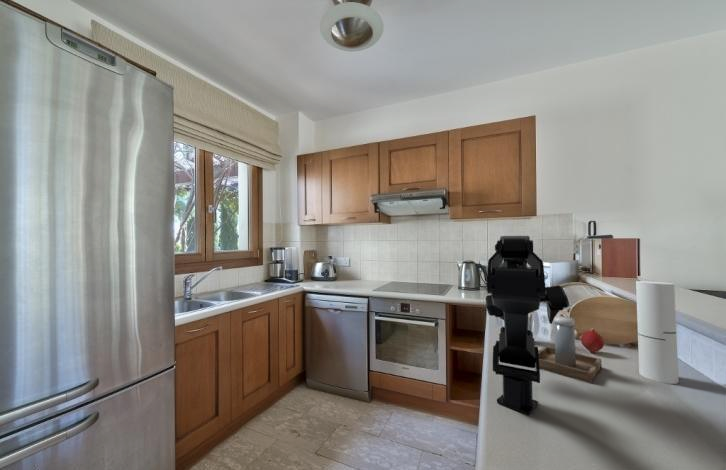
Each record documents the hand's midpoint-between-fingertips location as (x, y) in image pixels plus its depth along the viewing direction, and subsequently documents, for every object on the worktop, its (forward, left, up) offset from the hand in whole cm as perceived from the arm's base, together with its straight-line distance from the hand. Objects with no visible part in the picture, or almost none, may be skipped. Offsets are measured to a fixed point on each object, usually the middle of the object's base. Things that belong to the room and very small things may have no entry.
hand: (530, 324), depth 77 cm
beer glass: (+26, +11, -13) cm, 31 cm away
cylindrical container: (+22, -23, -13) cm, 35 cm away
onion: (+31, -8, -13) cm, 35 cm away
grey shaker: (+11, -5, -12) cm, 17 cm away
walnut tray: (+11, -5, -13) cm, 18 cm away
